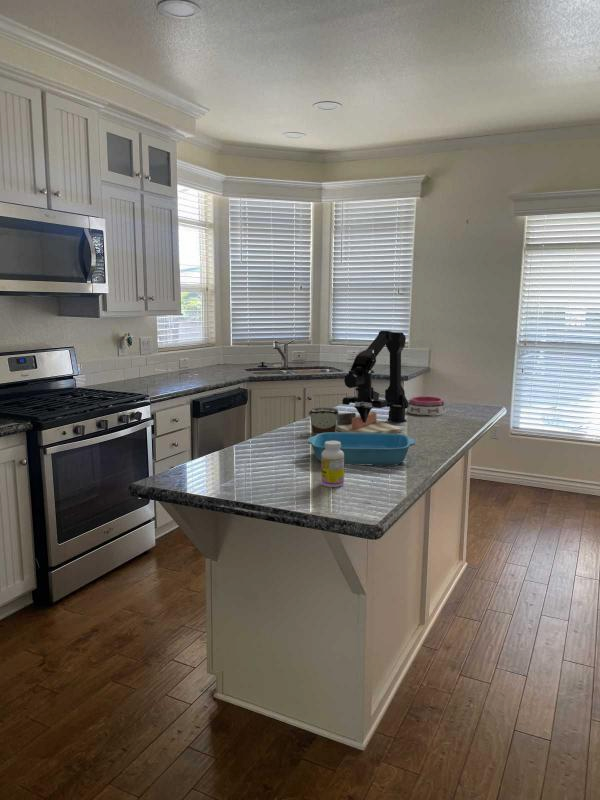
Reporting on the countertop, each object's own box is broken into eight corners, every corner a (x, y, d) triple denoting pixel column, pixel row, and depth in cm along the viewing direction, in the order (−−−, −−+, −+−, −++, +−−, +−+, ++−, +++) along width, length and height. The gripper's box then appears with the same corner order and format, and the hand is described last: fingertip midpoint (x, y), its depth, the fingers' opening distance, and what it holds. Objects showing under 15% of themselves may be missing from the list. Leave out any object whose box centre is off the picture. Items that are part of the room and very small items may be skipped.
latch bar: (372, 420, 257) (372, 411, 257) (377, 421, 256) (377, 411, 255) (351, 427, 244) (351, 417, 243) (356, 428, 242) (357, 418, 241)
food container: (339, 431, 246) (339, 407, 244) (338, 434, 240) (339, 410, 238) (309, 430, 247) (309, 407, 246) (308, 433, 241) (308, 409, 240)
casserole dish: (302, 466, 196) (302, 445, 194) (311, 449, 217) (311, 430, 216) (416, 470, 190) (417, 448, 189) (413, 452, 212) (414, 433, 211)
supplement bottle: (320, 481, 178) (320, 439, 176) (341, 481, 178) (342, 439, 176) (322, 488, 171) (322, 445, 169) (345, 487, 172) (345, 444, 170)
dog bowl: (444, 417, 275) (445, 402, 274) (404, 415, 280) (404, 401, 279) (446, 410, 292) (447, 396, 291) (408, 408, 297) (409, 395, 296)
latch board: (376, 423, 261) (376, 409, 260) (402, 432, 243) (402, 417, 242) (332, 427, 252) (332, 414, 251) (356, 437, 234) (356, 422, 233)
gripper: (394, 384, 242) (394, 421, 245) (356, 381, 254) (356, 417, 256) (380, 387, 234) (380, 426, 236) (341, 384, 245) (341, 421, 248)
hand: (364, 422), depth 244 cm, fingers closed
